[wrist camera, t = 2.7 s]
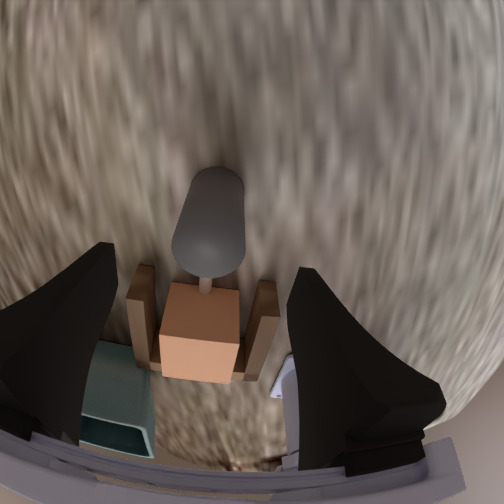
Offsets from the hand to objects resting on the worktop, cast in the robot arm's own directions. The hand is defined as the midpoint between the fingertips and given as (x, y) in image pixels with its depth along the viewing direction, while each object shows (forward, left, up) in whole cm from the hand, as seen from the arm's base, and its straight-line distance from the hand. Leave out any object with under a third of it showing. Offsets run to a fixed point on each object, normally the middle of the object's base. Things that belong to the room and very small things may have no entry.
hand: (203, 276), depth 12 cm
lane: (0, +10, -8) cm, 13 cm away
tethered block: (0, +5, -8) cm, 10 cm away
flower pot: (+8, +19, -8) cm, 22 cm away
